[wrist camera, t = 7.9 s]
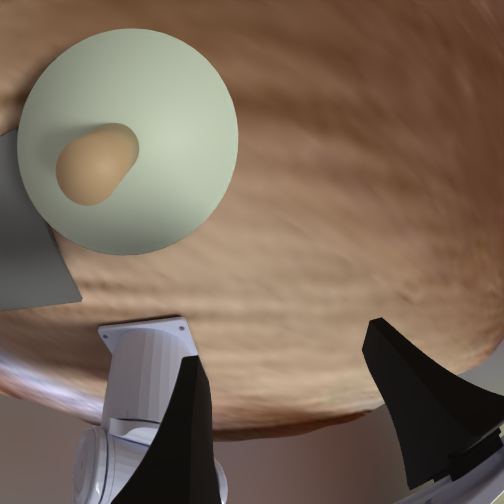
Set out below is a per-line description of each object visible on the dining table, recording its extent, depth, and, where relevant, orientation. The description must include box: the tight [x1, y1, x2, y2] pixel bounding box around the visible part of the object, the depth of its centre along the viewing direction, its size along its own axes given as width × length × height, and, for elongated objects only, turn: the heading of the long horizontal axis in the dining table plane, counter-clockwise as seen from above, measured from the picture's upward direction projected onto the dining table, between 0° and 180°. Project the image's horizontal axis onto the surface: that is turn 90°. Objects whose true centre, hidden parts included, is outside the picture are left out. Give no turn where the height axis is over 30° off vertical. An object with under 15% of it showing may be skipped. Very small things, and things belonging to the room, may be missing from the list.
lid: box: [17, 29, 238, 255], centre depth 10 cm, size 11×11×4 cm
